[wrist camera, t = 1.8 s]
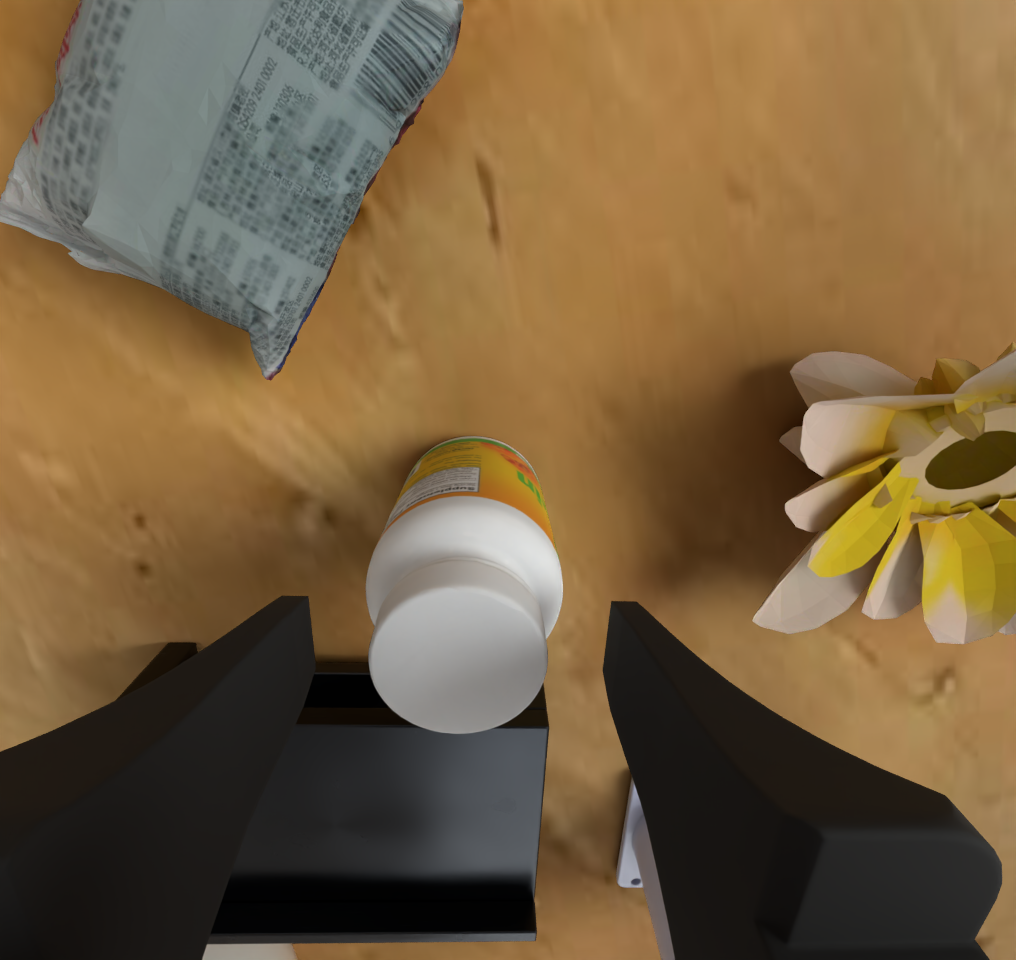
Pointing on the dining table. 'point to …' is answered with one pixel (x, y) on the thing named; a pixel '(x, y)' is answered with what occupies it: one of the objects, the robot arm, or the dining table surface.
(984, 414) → the decorative flower
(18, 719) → the dining table surface
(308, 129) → the packaged food
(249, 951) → the trinket box
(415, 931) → the black lipped tray
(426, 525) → the supplement bottle
